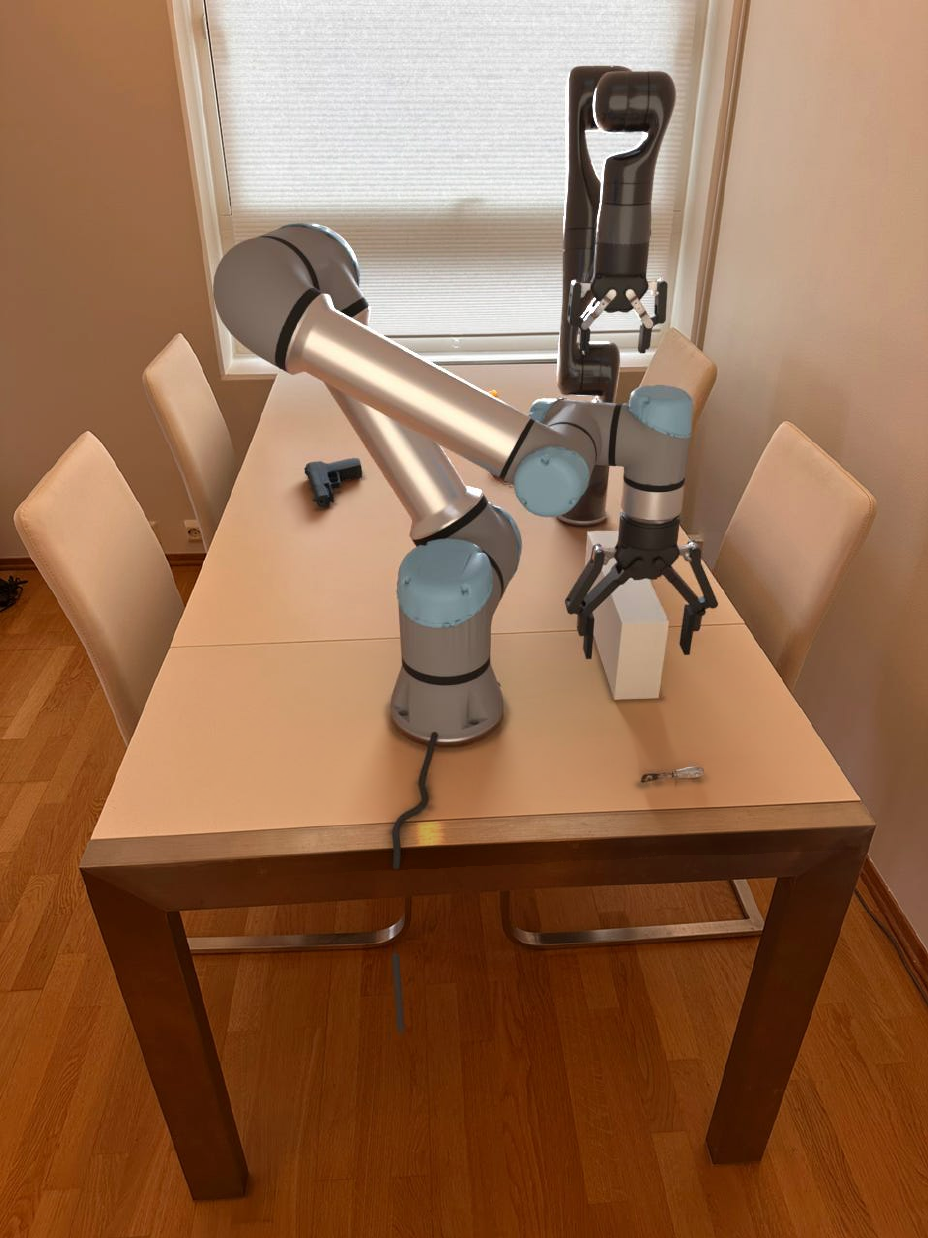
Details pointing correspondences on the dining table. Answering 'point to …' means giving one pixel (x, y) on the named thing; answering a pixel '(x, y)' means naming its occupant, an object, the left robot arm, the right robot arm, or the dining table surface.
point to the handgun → (330, 477)
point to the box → (629, 631)
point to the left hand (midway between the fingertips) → (635, 651)
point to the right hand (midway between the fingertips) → (613, 352)
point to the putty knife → (674, 774)
